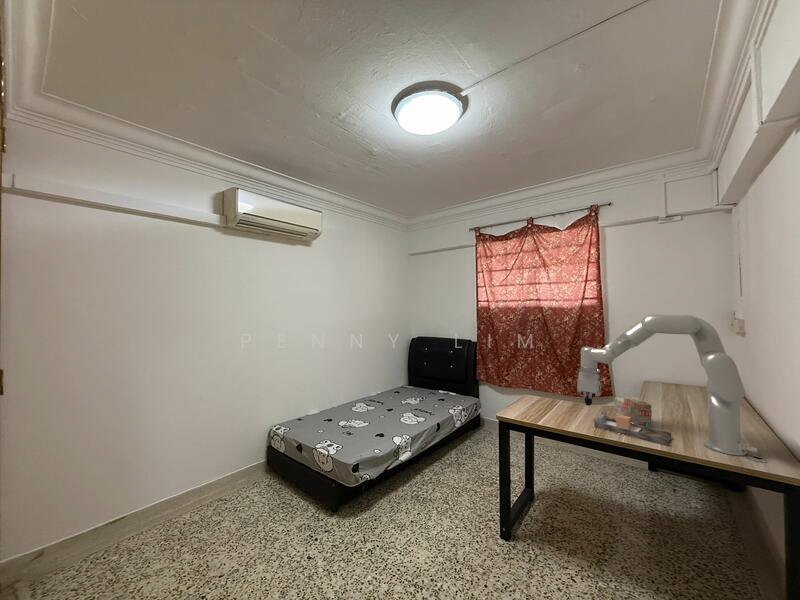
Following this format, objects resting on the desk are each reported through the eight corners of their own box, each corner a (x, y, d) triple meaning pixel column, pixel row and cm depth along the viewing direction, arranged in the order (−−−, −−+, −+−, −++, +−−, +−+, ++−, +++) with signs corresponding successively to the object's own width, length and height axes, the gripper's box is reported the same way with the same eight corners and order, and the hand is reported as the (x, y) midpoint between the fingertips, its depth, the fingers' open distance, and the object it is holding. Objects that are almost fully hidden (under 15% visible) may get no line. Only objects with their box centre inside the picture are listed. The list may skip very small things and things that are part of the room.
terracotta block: (631, 427, 152) (631, 417, 152) (628, 429, 149) (628, 419, 149) (619, 424, 156) (618, 414, 156) (616, 426, 152) (616, 416, 152)
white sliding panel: (640, 430, 151) (640, 421, 151) (636, 434, 145) (636, 426, 145) (603, 420, 162) (602, 413, 163) (597, 425, 157) (597, 417, 157)
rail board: (671, 438, 143) (671, 432, 143) (667, 446, 135) (666, 439, 135) (601, 421, 164) (601, 416, 164) (594, 427, 156) (594, 421, 156)
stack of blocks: (613, 413, 178) (613, 392, 178) (625, 414, 177) (624, 392, 178) (638, 428, 156) (638, 403, 157) (652, 428, 156) (651, 404, 156)
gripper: (607, 372, 161) (606, 407, 161) (576, 367, 172) (575, 400, 172) (602, 374, 156) (602, 410, 156) (571, 368, 167) (570, 402, 167)
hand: (588, 405), depth 164 cm, fingers closed
